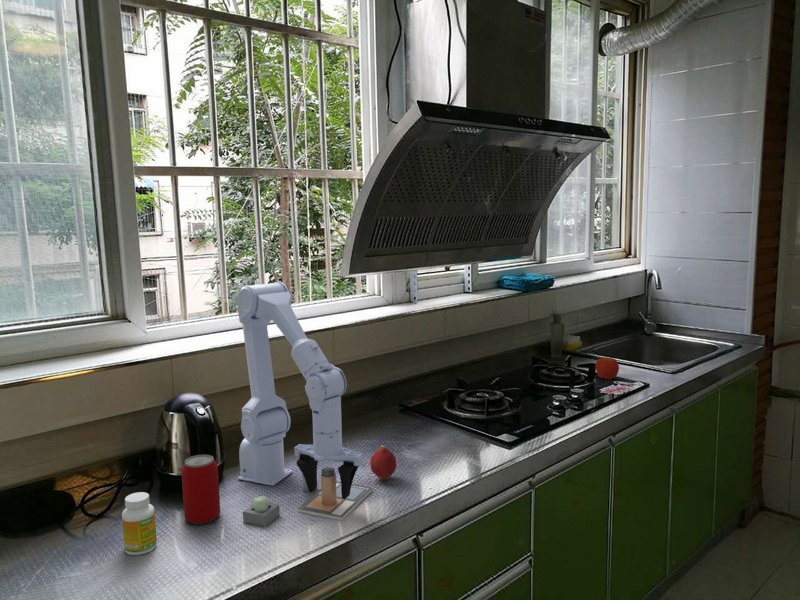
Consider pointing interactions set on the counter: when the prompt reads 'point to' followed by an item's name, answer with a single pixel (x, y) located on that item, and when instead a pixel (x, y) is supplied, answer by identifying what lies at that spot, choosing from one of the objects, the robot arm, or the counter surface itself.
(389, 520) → the counter surface
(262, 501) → the button
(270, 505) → the button housing
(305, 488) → the cylinder
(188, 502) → the beverage can
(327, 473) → the terracotta marker
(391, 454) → the onion
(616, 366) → the apple
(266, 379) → the robot arm
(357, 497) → the picture card
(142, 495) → the supplement bottle
